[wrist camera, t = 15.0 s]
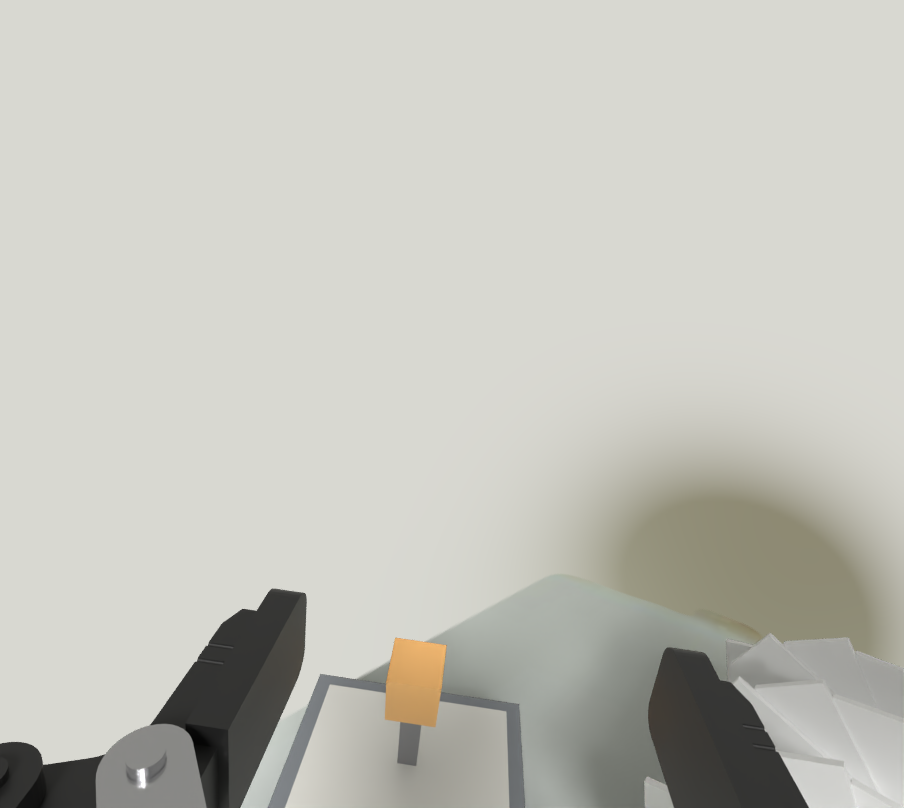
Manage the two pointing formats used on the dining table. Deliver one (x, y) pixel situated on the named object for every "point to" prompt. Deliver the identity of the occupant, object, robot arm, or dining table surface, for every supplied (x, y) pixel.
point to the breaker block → (376, 752)
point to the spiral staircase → (823, 719)
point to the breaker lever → (413, 692)
